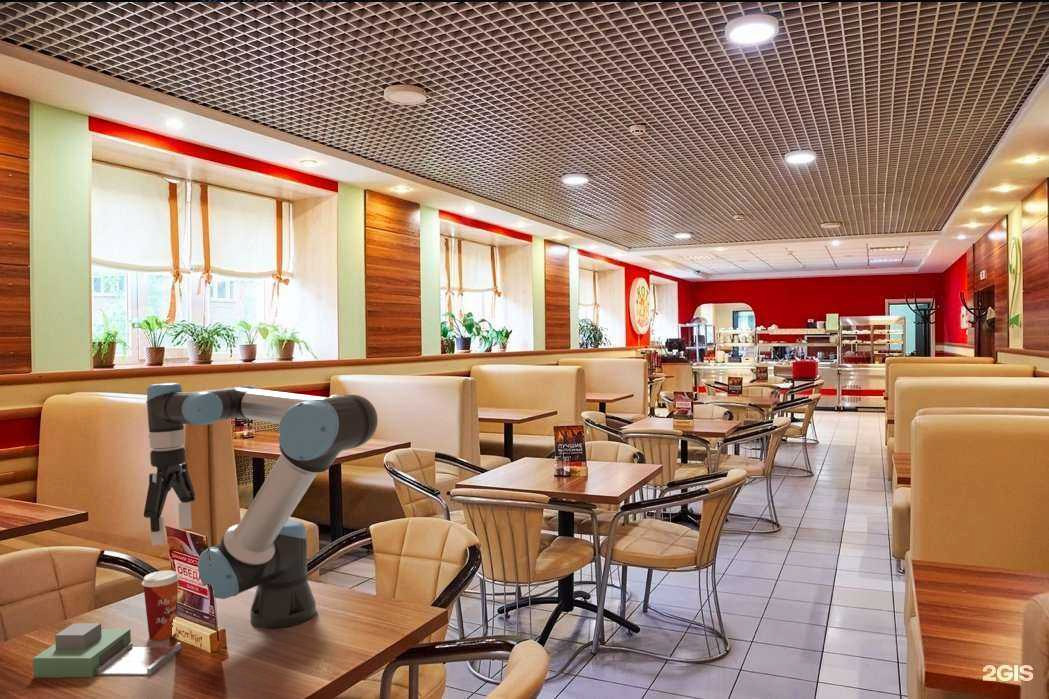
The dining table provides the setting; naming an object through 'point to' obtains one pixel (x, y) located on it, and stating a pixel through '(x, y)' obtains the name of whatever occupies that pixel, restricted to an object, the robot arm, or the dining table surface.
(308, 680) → the dining table surface
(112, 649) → the stepped green box
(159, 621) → the paper cup
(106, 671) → the plate
